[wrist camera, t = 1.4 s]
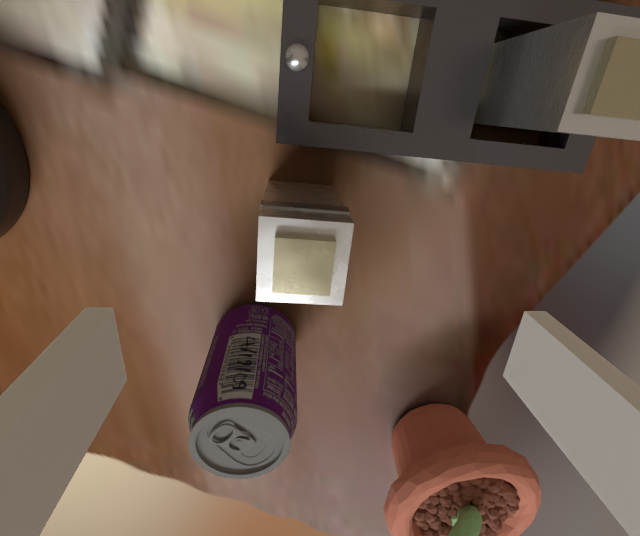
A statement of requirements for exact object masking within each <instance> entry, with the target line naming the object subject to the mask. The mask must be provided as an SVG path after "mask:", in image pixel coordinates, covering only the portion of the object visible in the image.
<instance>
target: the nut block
mask: <svg viewBox="0 0 640 536" xmlns="http://www.w3.org/2000/svg"><path fill="white" fill-rule="evenodd" d="M353 228H354V222H353V220H352V218H351V217H350V211H349V209H348V208H347V207H345V206H344V204H343V202H342V200H341V198H340V197H339V195H338V193H337V191H336V189H335V187H334V186H333V185H322V184H310V183H299V182H287V181H276V180H269V181H268V184H267V188H266V191H265V195H264V199H263V200H262V201H261V205H260V213H259V221H258V249H257V277H256V301H260V302H280V303H299V304H319V305H338V306H342V305H343V298H344V291H345V284H346V277H347V270H348V263H349V256H350V249H351V242H352V235H353Z"/></svg>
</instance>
